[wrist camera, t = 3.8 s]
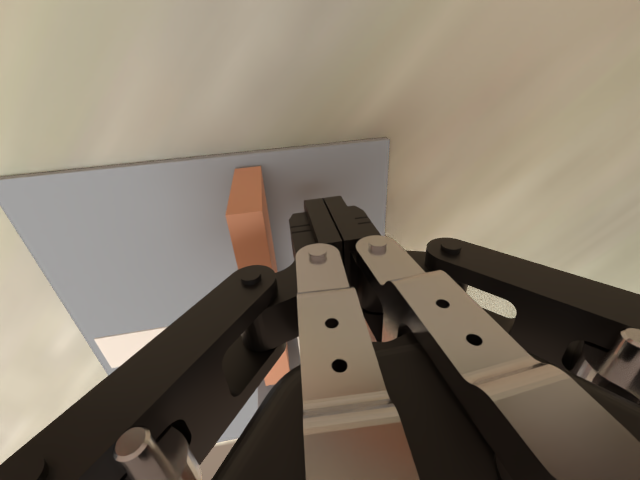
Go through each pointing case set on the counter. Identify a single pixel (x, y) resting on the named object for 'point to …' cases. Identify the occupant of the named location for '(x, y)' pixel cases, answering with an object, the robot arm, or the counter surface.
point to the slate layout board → (173, 234)
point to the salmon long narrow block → (253, 236)
